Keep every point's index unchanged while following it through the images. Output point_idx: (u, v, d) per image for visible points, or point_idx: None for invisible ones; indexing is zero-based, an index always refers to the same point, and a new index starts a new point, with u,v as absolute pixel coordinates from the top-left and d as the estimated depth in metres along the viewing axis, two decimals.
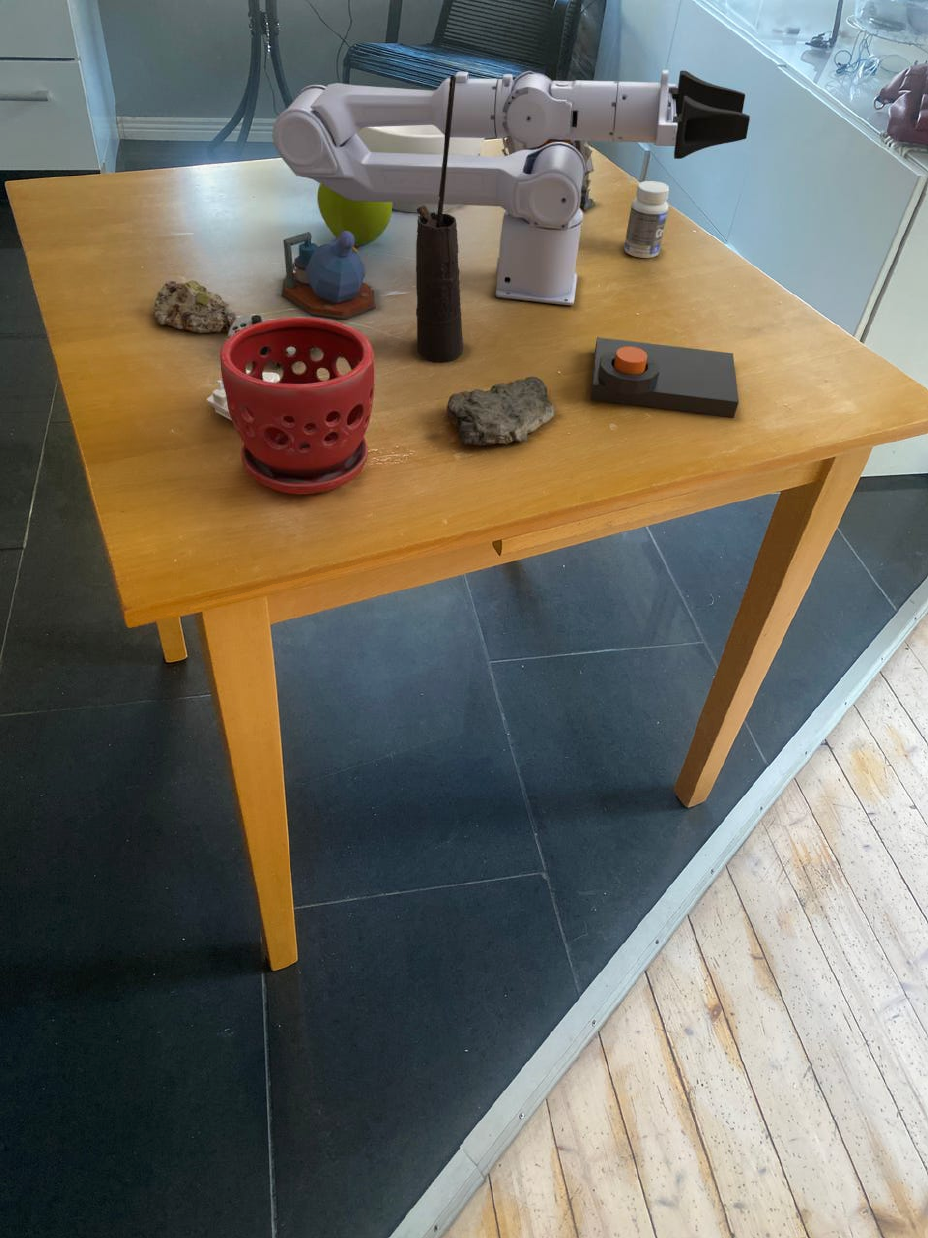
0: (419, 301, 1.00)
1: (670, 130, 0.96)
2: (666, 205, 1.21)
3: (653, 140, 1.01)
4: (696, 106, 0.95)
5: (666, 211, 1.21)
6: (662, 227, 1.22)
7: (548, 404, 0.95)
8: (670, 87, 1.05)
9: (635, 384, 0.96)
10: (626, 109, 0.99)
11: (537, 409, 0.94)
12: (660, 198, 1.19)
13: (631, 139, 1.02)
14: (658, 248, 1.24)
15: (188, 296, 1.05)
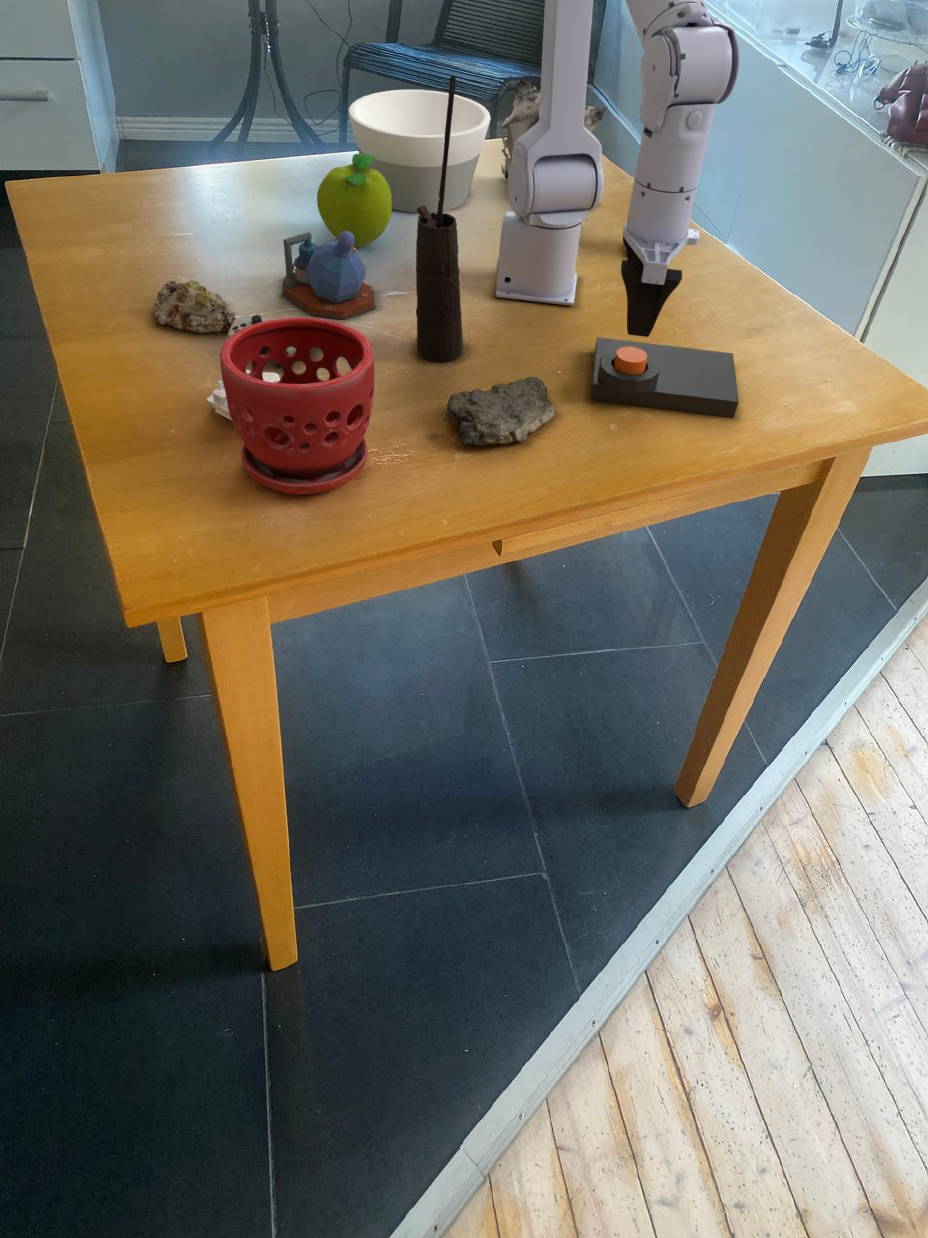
0: (419, 301, 1.00)
1: (659, 277, 0.84)
2: None
3: (633, 233, 0.87)
4: None
5: None
6: None
7: (548, 404, 0.95)
8: None
9: (635, 384, 0.96)
10: (675, 205, 0.84)
11: (537, 409, 0.94)
12: None
13: (638, 206, 0.85)
14: None
15: (188, 296, 1.05)
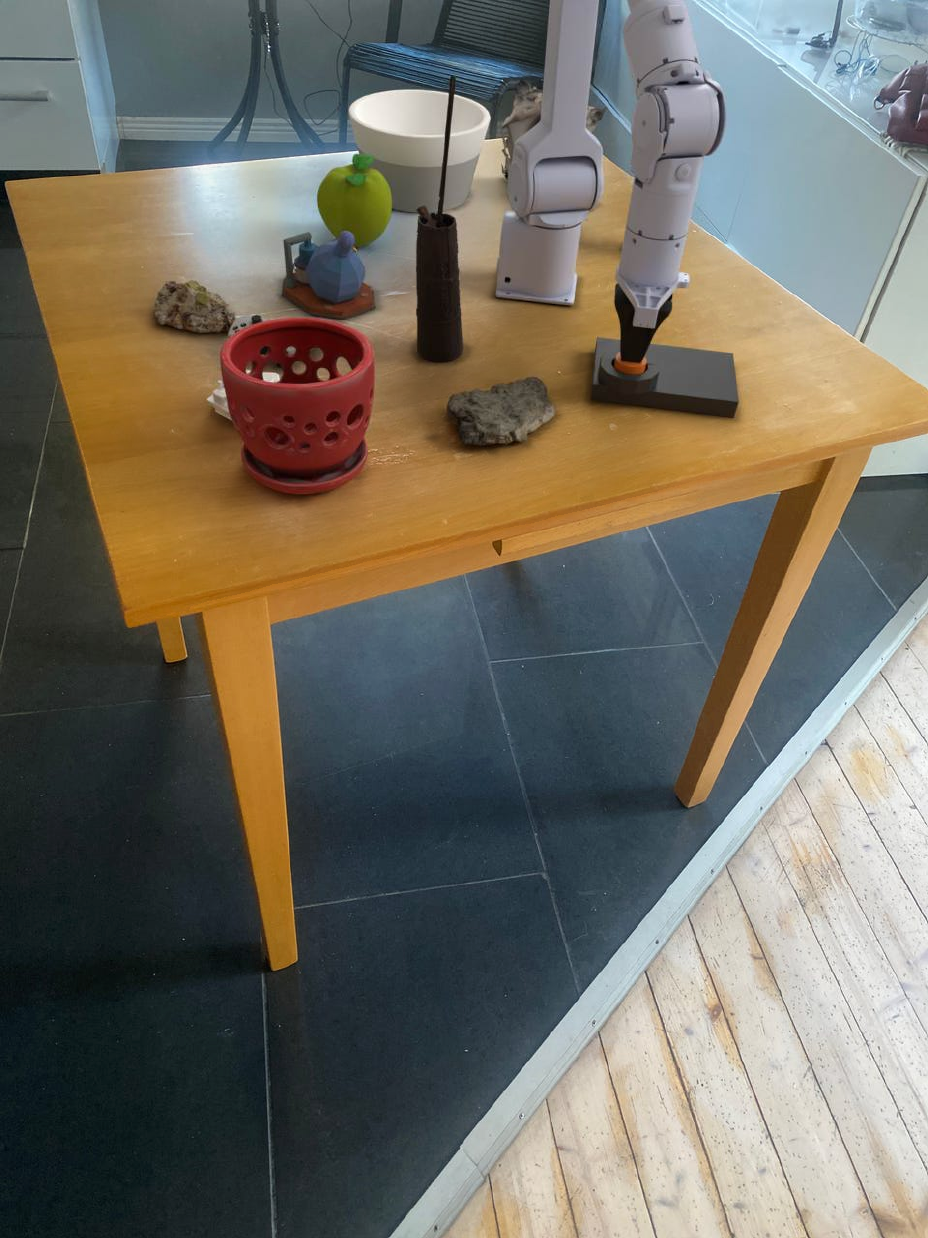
0: (419, 301, 1.00)
1: (650, 321, 0.87)
2: None
3: (625, 277, 0.90)
4: (663, 319, 0.92)
5: None
6: None
7: (548, 404, 0.95)
8: None
9: (635, 384, 0.96)
10: (665, 252, 0.87)
11: (537, 409, 0.94)
12: None
13: (629, 252, 0.88)
14: None
15: (188, 296, 1.05)
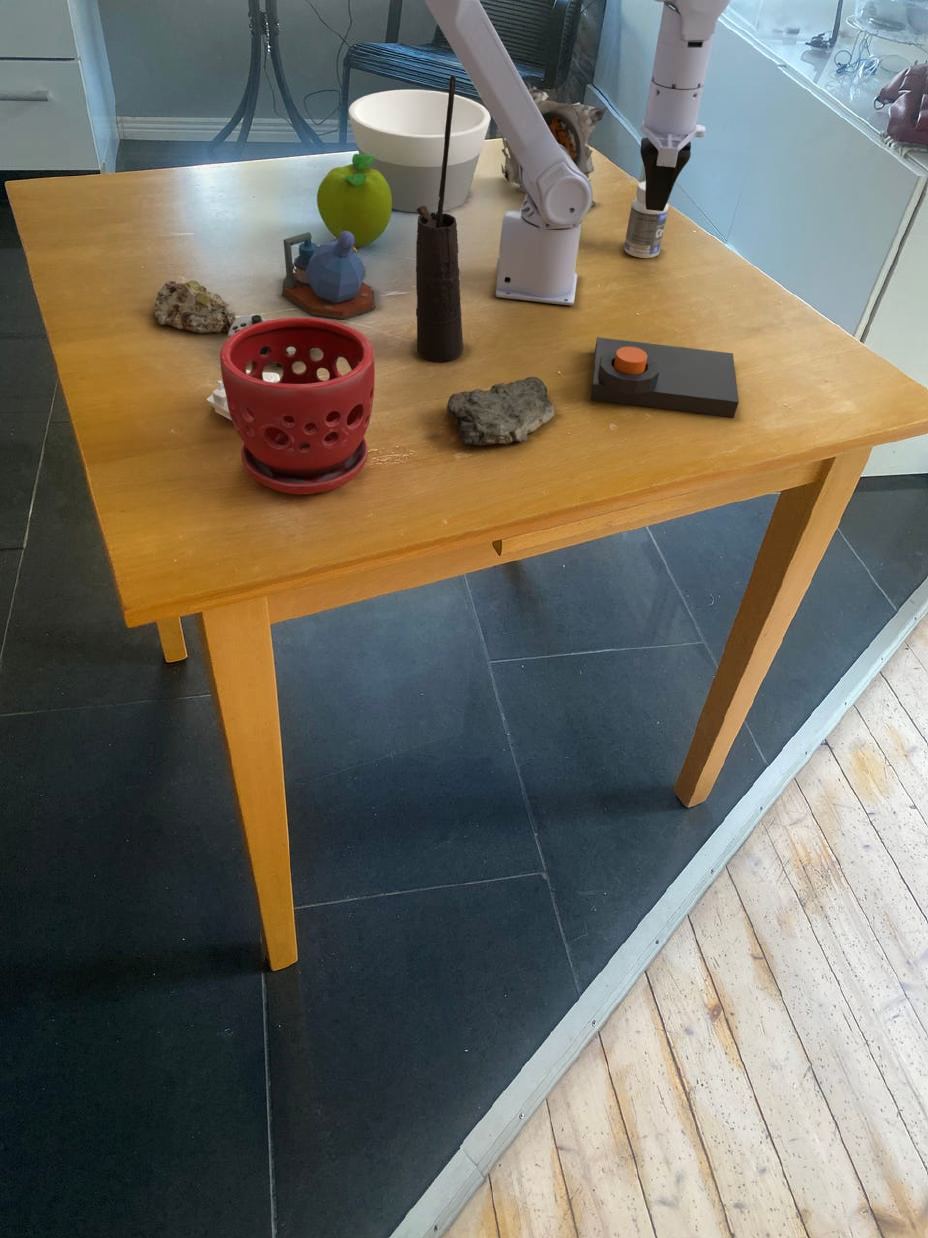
0: (419, 301, 1.00)
1: (671, 160, 1.02)
2: (666, 205, 1.21)
3: (650, 127, 1.05)
4: (683, 166, 1.07)
5: (666, 211, 1.21)
6: (662, 227, 1.22)
7: (548, 404, 0.95)
8: None
9: (635, 384, 0.96)
10: (684, 100, 1.01)
11: (537, 409, 0.94)
12: None
13: (653, 103, 1.03)
14: (658, 248, 1.24)
15: (188, 296, 1.05)
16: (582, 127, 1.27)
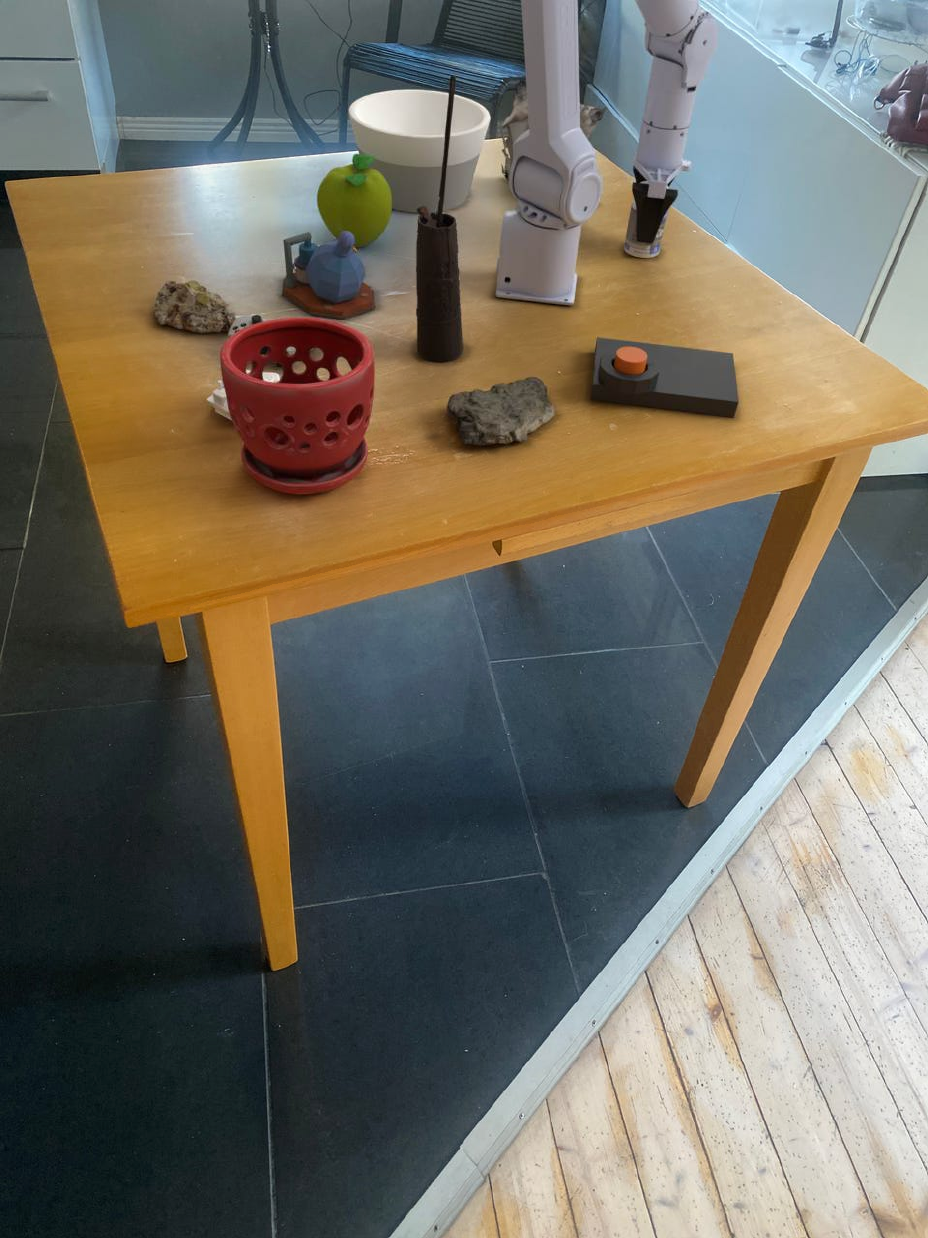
0: (419, 301, 1.00)
1: (660, 192, 1.13)
2: None
3: (641, 161, 1.16)
4: None
5: None
6: (662, 227, 1.22)
7: (548, 404, 0.95)
8: None
9: (635, 384, 0.96)
10: (672, 139, 1.13)
11: (537, 409, 0.94)
12: None
13: (644, 141, 1.15)
14: (658, 248, 1.24)
15: (188, 296, 1.05)
16: (582, 127, 1.27)
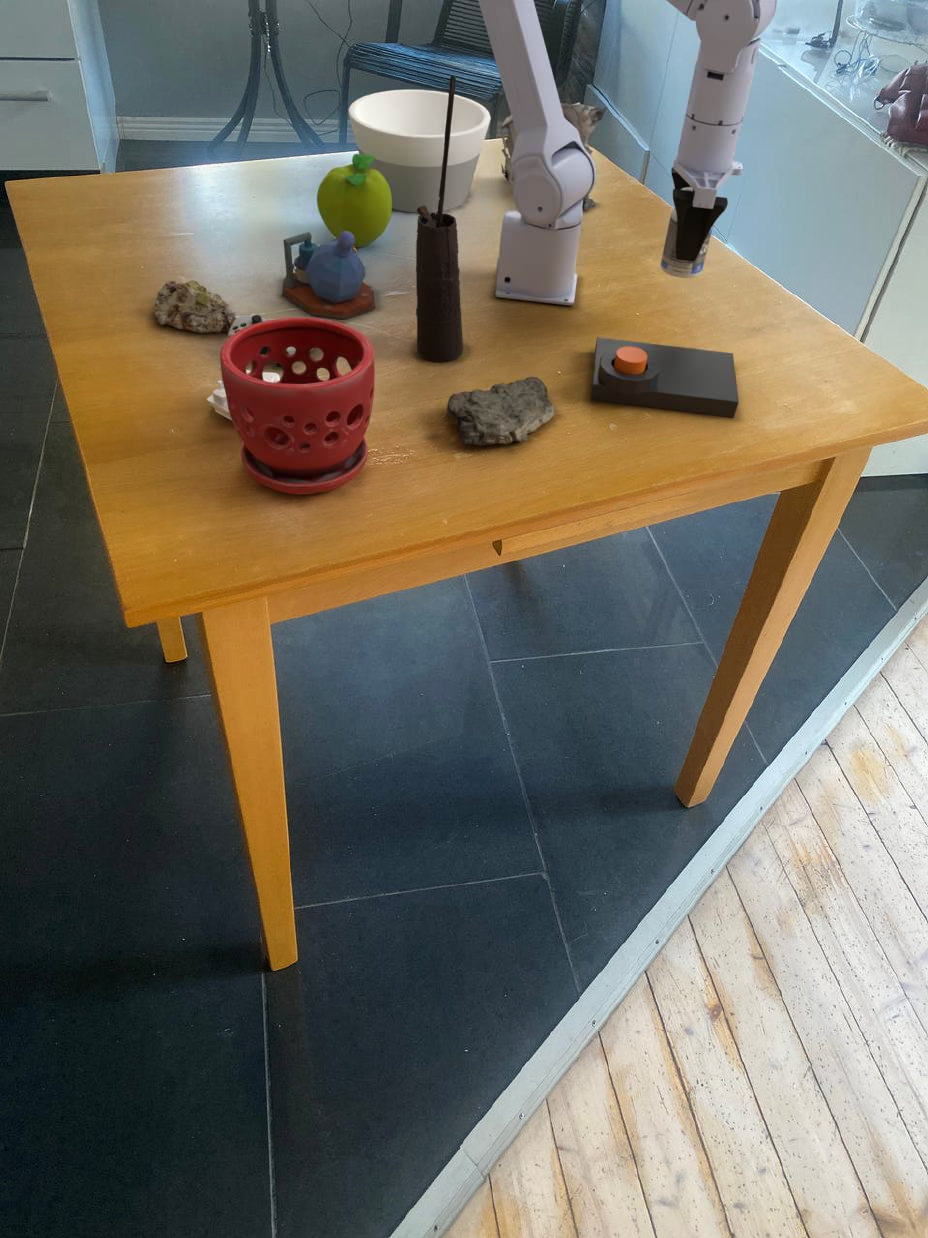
0: (419, 301, 1.00)
1: (709, 201, 0.94)
2: None
3: (683, 164, 0.97)
4: None
5: None
6: (707, 242, 1.03)
7: (548, 404, 0.95)
8: None
9: (635, 384, 0.96)
10: (723, 137, 0.94)
11: (537, 409, 0.94)
12: None
13: (688, 139, 0.95)
14: (701, 266, 1.05)
15: (188, 296, 1.05)
16: (582, 127, 1.27)
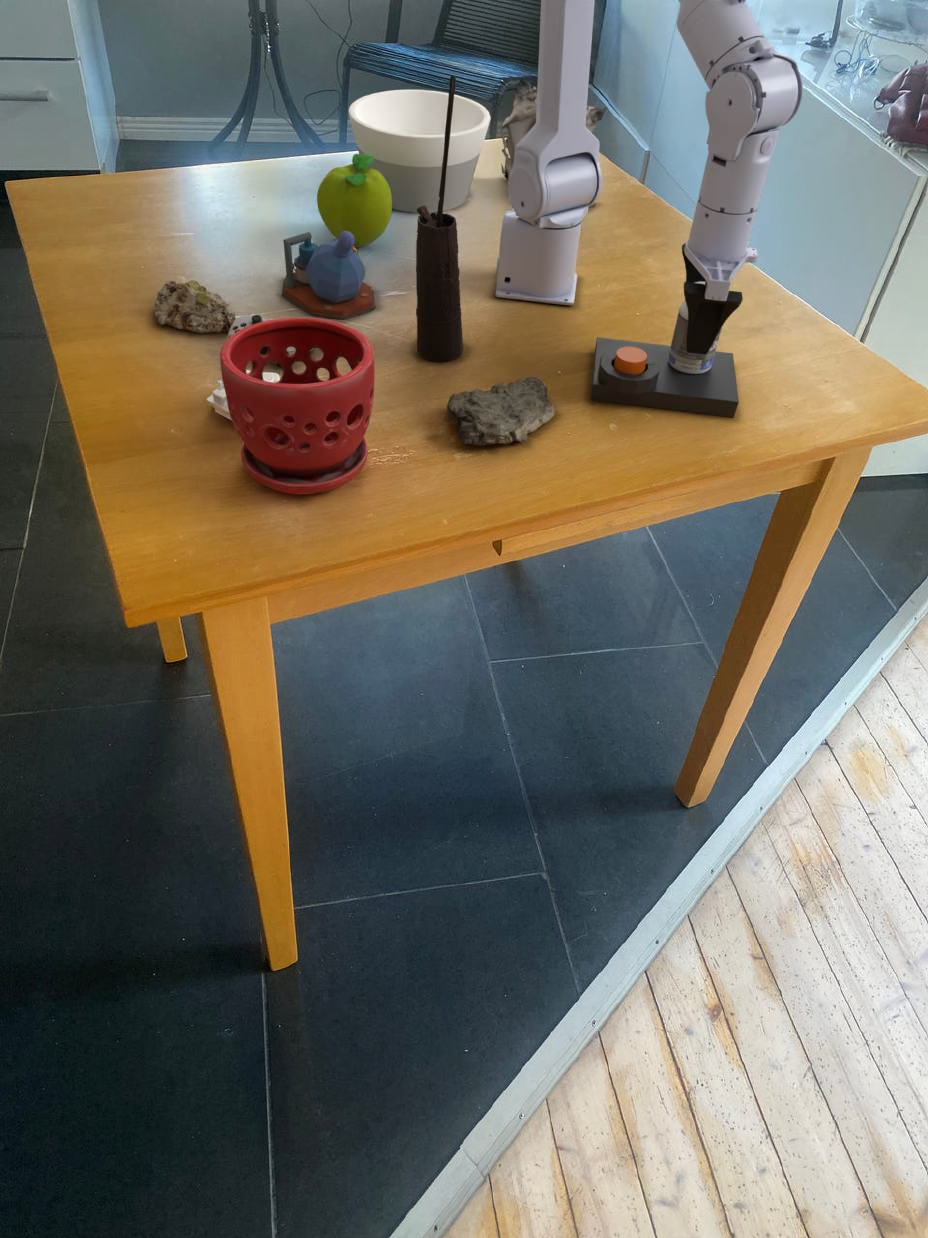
0: (419, 301, 1.00)
1: (722, 294, 0.89)
2: None
3: (695, 251, 0.92)
4: None
5: None
6: (717, 338, 0.98)
7: (548, 404, 0.95)
8: None
9: (635, 384, 0.96)
10: (737, 226, 0.89)
11: (537, 409, 0.94)
12: None
13: (701, 227, 0.90)
14: (711, 362, 1.00)
15: (188, 296, 1.05)
16: None
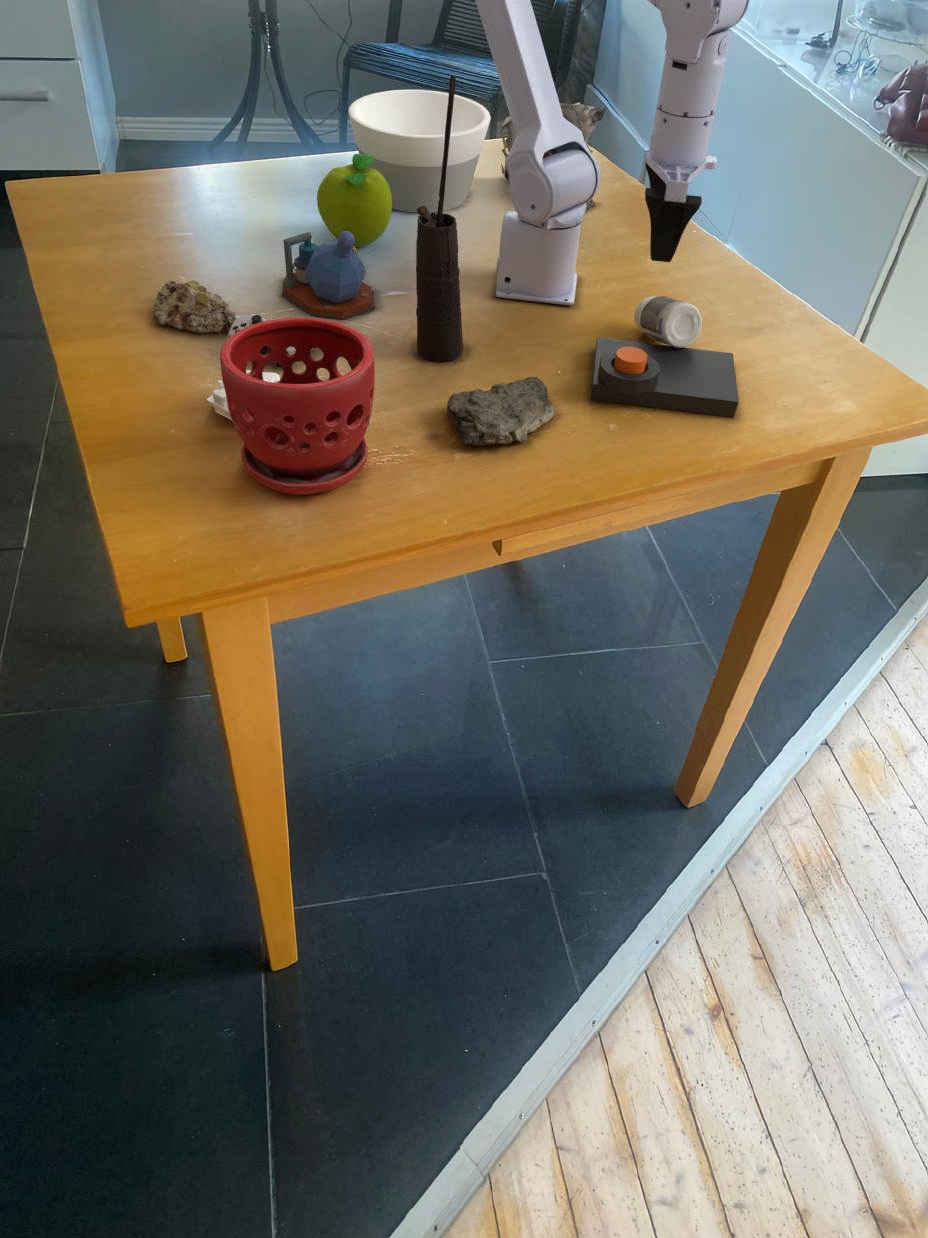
0: (419, 301, 1.00)
1: (680, 195, 0.92)
2: None
3: (655, 158, 0.95)
4: None
5: None
6: None
7: (548, 404, 0.95)
8: None
9: (635, 384, 0.96)
10: (694, 130, 0.92)
11: (537, 409, 0.94)
12: None
13: (660, 133, 0.93)
14: None
15: (188, 296, 1.05)
16: (582, 127, 1.27)
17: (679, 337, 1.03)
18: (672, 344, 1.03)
